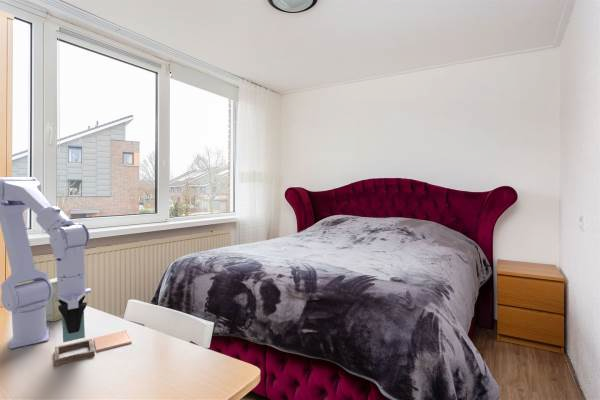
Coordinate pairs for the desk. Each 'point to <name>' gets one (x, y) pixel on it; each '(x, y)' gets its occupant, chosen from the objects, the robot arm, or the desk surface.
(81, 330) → the teal block
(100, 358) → the desk surface
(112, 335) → the terracotta tile
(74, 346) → the pocket frame
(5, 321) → the desk surface
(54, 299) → the skincare box
